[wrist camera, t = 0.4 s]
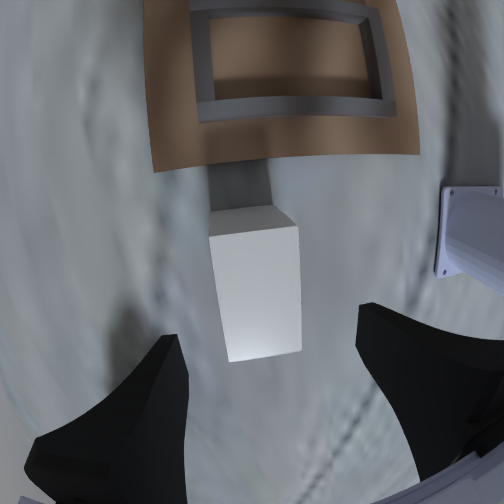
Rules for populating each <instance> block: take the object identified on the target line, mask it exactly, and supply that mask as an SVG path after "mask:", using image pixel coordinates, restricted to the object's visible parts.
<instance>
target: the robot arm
mask: <svg viewBox="0 0 504 504" xmlns="http://www.w3.org/2000/svg"><path fill="white" fill-rule="evenodd" d="M450 191H451V194H450ZM443 271H444V272H443ZM462 272H465V273H466V274H468V275H470V276H471V277H473V278H475V279H476V280H478V281H480V282H481V283H483V284H485V285H486V286H488V287H489V288H491V289H493V290H494V291H496V292H497V293H499V294H501V295H502V296H504V198H503V188H502V187H499V186H446V187H444V188H443V189H442V193H441V216H440V230H439V242H438V251H437V260H436V267H435V277H437V278H438V279H440V278H444V277H448V276H451V275H455V274H459V273H462ZM355 346H356V348H357V350H358V352H359V355H360V357H361V359H362V361H363V363H364V365H365V366H366V368H367V369H368V371H369V372H370V374H371V375H372V377H373V379H374V380H375V381H376V383H377V384H378V386H379V387H380V389H381V390H382V392H383V393H384V395H385V397H386V398H387V400H388V401H389V403H390V404H391V406H392V408H393V410H394V412H395V414H396V416H397V418H398V420H399V422H400V425H401V427H402V429H403V432H404V434H405V436H406V439H407V441H408V444H409V446H410V449H411V452H412V455H413V458H414V461H415V464H416V467H417V471H418V474H419V478H420V483H418V484H416V485H414V486H412V487H410V488H408V489H405V490H403V491H401V492H399V493H397V494H394V495H392V496H390V497H387V498H385V499H382V500H380V501H377V502H375V503H372V504H499V503H501V502H502V501H503V500H504V340H488V339H480V338H473V337H468V336H463V335H458V334H454V333H450V332H447V331H443V330H440V329H437V328H434V327H431V326H429V325H426V324H423V323H421V322H418V321H416V320H413V319H411V318H409V317H406V316H404V315H402V314H400V313H397V312H395V311H393V310H391V309H388V308H386V307H384V306H381V305H379V304H376V303H373V302H371V303H366V304H362V305H359V313H358V324H357V335H356V344H355ZM188 400H189V374H188V370H187V367H186V364H185V360H184V357H183V354H182V350H181V347H180V343H179V339H178V336H177V334H171V335H162V336H161V337H160V338H159V339H158V341H157V342H156V343H155V344H154V346H153V347H152V348H151V350H150V351H149V352H148V353H147V355H146V356H145V357H144V358H143V360H142V361H141V362H140V363H139V365H138V366H137V367H136V368H135V369H134V370H133V371H132V372H131V374H130V375H129V376H128V377H127V378H126V379H125V380H124V381H123V382H122V383H121V384H120V385H119V386H118V387H117V388H116V389H115V390H114V391H113V392H112V393H111V394H109V395H108V396H107V397H106V398H105V399H104V400H102V401H101V402H100V403H98V404H97V405H96V406H94V407H93V408H92V409H90V410H89V411H87V412H86V413H85V414H83V415H81V416H80V417H78V418H77V419H75V420H73V421H72V422H70V423H68V424H66V425H64V426H62V427H60V428H58V429H56V430H54V431H52V432H49V433H47V434H45V435H42V436H40V437H37V438H36V439H35V441H34V443H33V446H32V448H31V451H30V453H29V456H28V458H27V461H26V463H25V466H24V470H25V473H26V474H27V476H28V478H29V479H30V480H31V481H32V482H33V483H34V484H35V485H36V486H37V487H39V488H40V489H41V490H42V491H43V492H45V493H46V494H47V495H48V496H49V497H51V498H52V499H53V500H54V501H56V504H187V495H186V484H185V469H184V438H185V428H186V418H187V409H188ZM18 504H43V503H41V502H38V501H35V500H32V499H30V498H27V497H24V496H20V500H19V503H18Z"/></svg>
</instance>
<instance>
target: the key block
mask: <svg viewBox="0 0 504 504" xmlns="http://www.w3.org/2000/svg"><path fill="white" fill-rule="evenodd" d="M209 242H210V249H211V256H212V262H213V269H214V275H215V282H216V288H217V294H218V301H219V307H220V313H221V319H222V324H223V330H224V336H225V341H226V347H227V353H228V358H229V362H234V361H242V360H249V359H256V358H262V357H268V356H274V355H280V354H286V353H291V352H297V351H302V326H301V283H300V256H299V235H298V225H296V224H295V223H294V222H293V221H292V220H291V219H290V218H288V217H287V216H286V215H285V214H284V213H283V212H281V211H280V210H279V209H278V208H277V207H275V206H274V205H273V204H272V205H263V206H254V207H245V208H237V209H229V210H221V211H213V212H210V225H209Z"/></svg>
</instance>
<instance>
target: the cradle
mask: <svg viewBox="0 0 504 504" xmlns="http://www.w3.org/2000/svg"><path fill="white" fill-rule="evenodd" d="M143 39H144V70H145V88H146V102H147V114H148V125H149V135H150V145H151V154H152V162H153V170H154V173H156V172H162V171H168V170H174V169H181V168H188V167H195V166H202V165H209V164H217V163H226V162H235V161H244V160H254V159H266V158H278V157H292V156H310V155H334V154H410V155H420V141H419V126H418V115H417V105H416V97H415V89H414V82H413V76H412V69H411V64H410V58H409V53H408V48H407V43H406V39H405V34H404V30H403V26H402V22H401V18H400V14H399V11H398V7H397V3H396V0H144V4H143Z"/></svg>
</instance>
